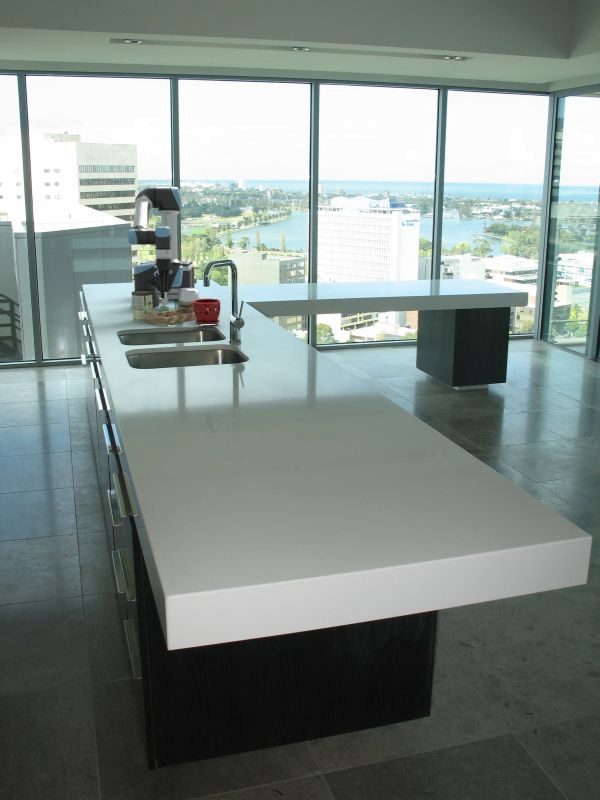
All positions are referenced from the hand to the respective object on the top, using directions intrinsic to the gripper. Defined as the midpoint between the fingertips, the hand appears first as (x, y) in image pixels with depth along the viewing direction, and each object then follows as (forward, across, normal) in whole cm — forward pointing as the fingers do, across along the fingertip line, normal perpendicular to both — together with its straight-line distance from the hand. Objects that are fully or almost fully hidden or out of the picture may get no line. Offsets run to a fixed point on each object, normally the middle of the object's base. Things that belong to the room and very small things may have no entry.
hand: (164, 304), depth 426 cm
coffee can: (+7, -14, +1) cm, 15 cm away
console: (+6, 0, 0) cm, 6 cm away
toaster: (+6, +52, +51) cm, 73 cm away
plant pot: (+7, -2, -32) cm, 33 cm away
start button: (+5, 0, 0) cm, 5 cm away
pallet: (+7, -3, -13) cm, 15 cm away
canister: (+6, +4, -13) cm, 15 cm away
